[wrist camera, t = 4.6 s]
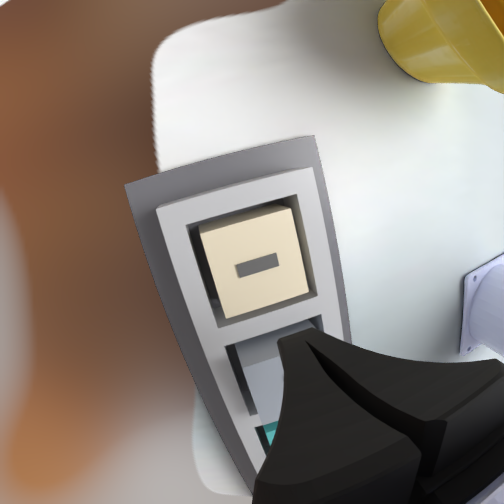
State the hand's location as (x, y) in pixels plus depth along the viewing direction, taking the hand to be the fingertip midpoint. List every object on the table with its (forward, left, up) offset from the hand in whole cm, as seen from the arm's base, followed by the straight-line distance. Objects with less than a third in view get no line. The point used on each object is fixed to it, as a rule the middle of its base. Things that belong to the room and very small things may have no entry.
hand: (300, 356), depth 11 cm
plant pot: (-15, -13, -8) cm, 21 cm away
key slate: (0, +4, -5) cm, 7 cm away
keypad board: (0, +7, -7) cm, 10 cm away
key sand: (0, -2, -7) cm, 7 cm away
